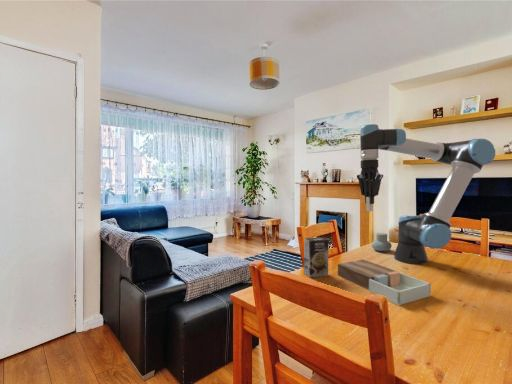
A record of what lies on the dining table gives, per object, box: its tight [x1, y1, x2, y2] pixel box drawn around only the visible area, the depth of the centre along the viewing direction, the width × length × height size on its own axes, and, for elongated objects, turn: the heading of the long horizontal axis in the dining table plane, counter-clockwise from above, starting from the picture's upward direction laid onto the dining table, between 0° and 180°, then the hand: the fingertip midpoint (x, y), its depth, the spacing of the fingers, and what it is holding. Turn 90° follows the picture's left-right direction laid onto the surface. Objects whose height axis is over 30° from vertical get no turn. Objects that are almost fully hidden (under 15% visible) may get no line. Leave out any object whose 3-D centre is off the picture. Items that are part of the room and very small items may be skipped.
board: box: [337, 259, 398, 291], centre depth 115 cm, size 15×18×5 cm
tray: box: [368, 272, 432, 306], centre depth 101 cm, size 17×13×5 cm
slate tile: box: [374, 274, 388, 286], centre depth 104 cm, size 5×5×2 cm
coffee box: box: [303, 236, 330, 278], centre depth 121 cm, size 9×6×16 cm
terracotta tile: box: [387, 270, 401, 287], centre depth 107 cm, size 5×5×2 cm
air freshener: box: [371, 232, 392, 253], centre depth 159 cm, size 11×8×10 cm
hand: (369, 210), depth 126 cm, fingers closed
